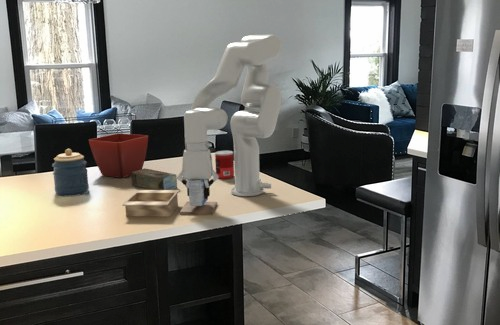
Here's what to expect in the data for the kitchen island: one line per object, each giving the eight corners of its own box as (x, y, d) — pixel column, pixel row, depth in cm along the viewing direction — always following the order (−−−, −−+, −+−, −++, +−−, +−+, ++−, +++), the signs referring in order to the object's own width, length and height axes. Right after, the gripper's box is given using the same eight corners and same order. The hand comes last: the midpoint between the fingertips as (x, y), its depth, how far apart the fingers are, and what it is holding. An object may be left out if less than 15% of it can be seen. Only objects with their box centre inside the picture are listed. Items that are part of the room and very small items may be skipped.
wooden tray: (179, 203, 197) (179, 190, 195) (168, 219, 179) (167, 204, 178) (138, 203, 198) (137, 190, 197) (123, 218, 180) (122, 204, 179)
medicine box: (201, 206, 184) (200, 181, 182) (189, 205, 185) (188, 181, 183) (208, 200, 192) (207, 176, 190) (196, 199, 193) (195, 175, 191)
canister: (95, 191, 215) (91, 148, 212) (65, 198, 206) (61, 153, 202) (78, 186, 224) (74, 144, 220) (49, 193, 215) (44, 149, 211)
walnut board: (217, 204, 194) (217, 201, 194) (212, 214, 183) (211, 211, 182) (187, 204, 195) (186, 201, 195) (179, 214, 184) (179, 211, 183)
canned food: (237, 176, 236) (236, 151, 233) (227, 180, 229) (226, 154, 227) (223, 174, 240) (222, 149, 237) (212, 178, 233) (211, 153, 231)
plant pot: (90, 176, 241) (87, 139, 238) (121, 167, 257) (118, 132, 254) (121, 181, 232) (118, 142, 228) (151, 171, 247) (149, 135, 244)
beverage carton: (163, 192, 212) (162, 176, 211) (130, 186, 223) (129, 170, 222) (178, 188, 218) (177, 172, 217) (145, 182, 230) (144, 167, 228)
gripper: (222, 144, 187) (224, 195, 191) (174, 144, 189) (177, 195, 192) (219, 148, 180) (221, 201, 184) (169, 148, 181) (172, 201, 185)
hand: (198, 197), depth 188 cm, fingers closed on medicine box, 4 cm apart
